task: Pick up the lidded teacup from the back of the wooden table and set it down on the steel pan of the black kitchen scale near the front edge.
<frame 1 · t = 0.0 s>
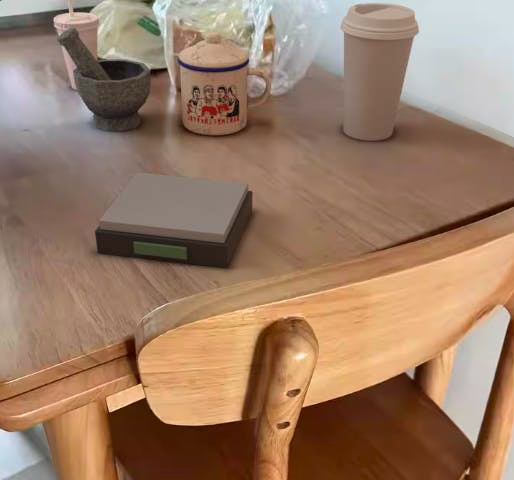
smoothie: (84, 87, 110), on the table
scale: (178, 231, 75), on the table
teacup with lid: (225, 125, 99), on the table
coffee cup: (367, 132, 98), on the table
mortar and pestle: (112, 124, 98), on the table
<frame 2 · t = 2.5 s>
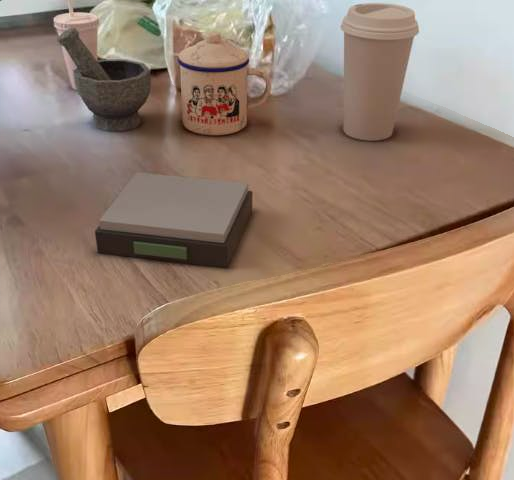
nothing on the table moved.
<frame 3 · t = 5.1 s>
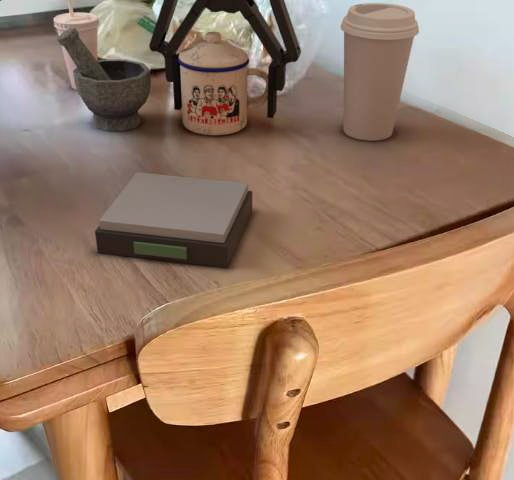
hand: (225, 110, 97), 2 cm above the table, tool pointing down, fingers closed on teacup with lid, 12 cm apart
teacup with lid: (225, 125, 99), on the table, touching gripper
everything else where it was.
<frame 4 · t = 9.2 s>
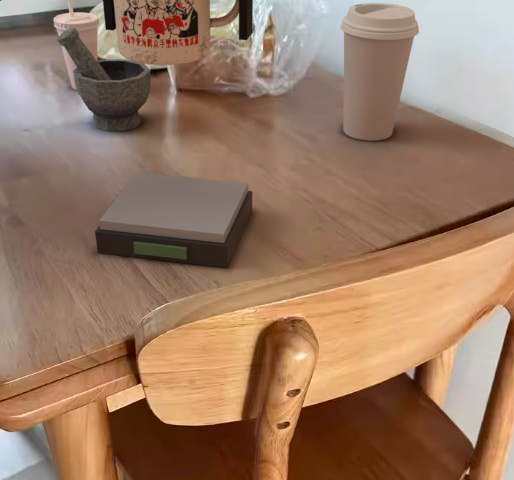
hand: (179, 31, 68), 18 cm above the table, tool pointing down, fingers closed on teacup with lid, 12 cm apart
teacup with lid: (180, 54, 69), point 16 cm above the table, touching gripper
everything else where it was.
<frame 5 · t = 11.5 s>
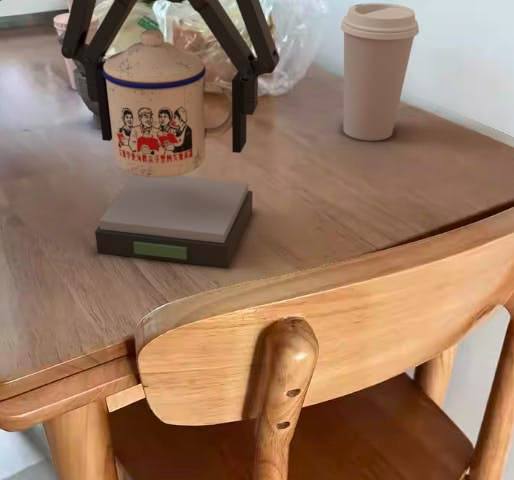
hand: (174, 141, 69), 10 cm above the table, tool pointing down, fingers closed on teacup with lid, 12 cm apart
teacup with lid: (175, 162, 70), point 7 cm above the table, touching gripper
everything else where it was.
when the fingers open (5 cm above the table, at t = 13.3 s): teacup with lid stays where it is, resting on scale.
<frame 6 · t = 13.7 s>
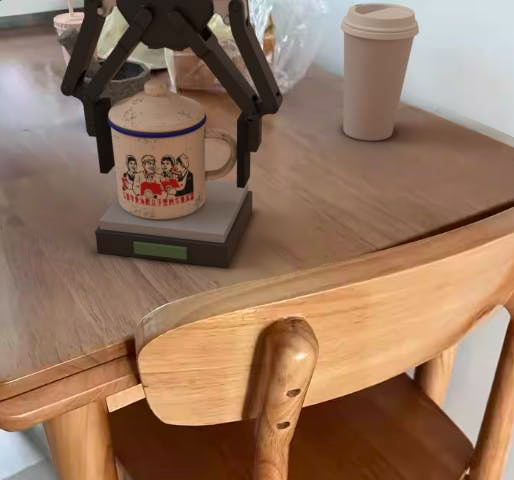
hand: (175, 175, 71), 6 cm above the table, tool pointing down, fingers open, 13 cm apart
teacup with lid: (177, 202, 73), point 3 cm above the table, touching scale
everything else where it was.
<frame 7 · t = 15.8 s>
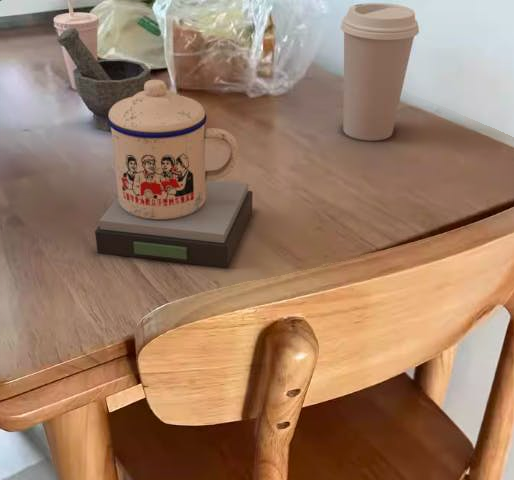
nothing on the table moved.
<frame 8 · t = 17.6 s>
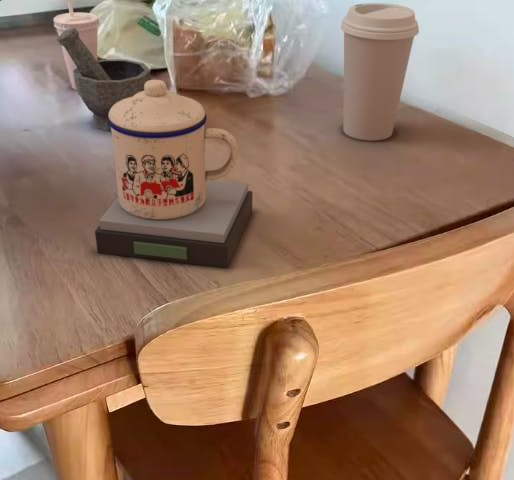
nothing on the table moved.
at the end: teacup with lid inside the target area on the scale (0.0 cm from its centre), point 3.2 cm above the scale's base; teacup with lid tilted 0°; the gripper is holding nothing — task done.
